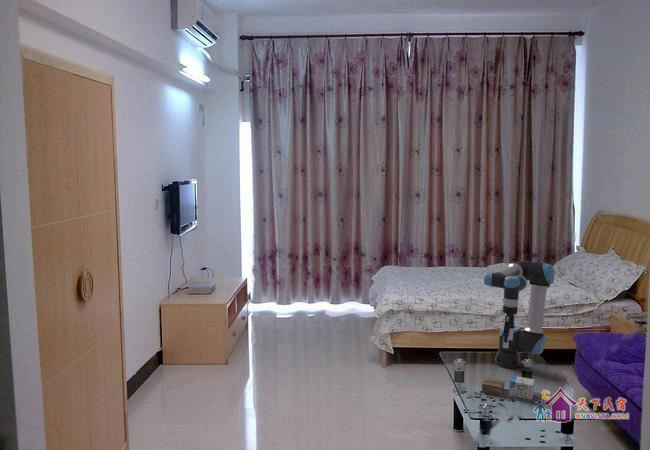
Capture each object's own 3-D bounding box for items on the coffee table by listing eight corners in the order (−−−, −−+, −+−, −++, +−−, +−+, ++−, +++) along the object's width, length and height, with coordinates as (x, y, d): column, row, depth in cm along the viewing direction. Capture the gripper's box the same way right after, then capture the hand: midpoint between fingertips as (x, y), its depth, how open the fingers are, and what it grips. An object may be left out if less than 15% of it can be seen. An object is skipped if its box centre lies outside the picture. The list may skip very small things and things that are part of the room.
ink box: (510, 380, 309) (533, 385, 304) (512, 375, 317) (534, 379, 312) (509, 396, 310) (532, 400, 305) (511, 389, 318) (533, 394, 313)
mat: (509, 387, 322) (509, 386, 322) (541, 394, 314) (541, 393, 314) (504, 397, 310) (504, 396, 310) (537, 404, 302) (537, 403, 302)
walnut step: (485, 385, 324) (486, 377, 323) (504, 389, 319) (504, 380, 319) (481, 392, 315) (482, 383, 314) (500, 396, 311) (501, 387, 310)
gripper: (507, 298, 320) (504, 335, 323) (498, 310, 298) (496, 349, 301) (521, 300, 316) (518, 337, 320) (513, 312, 294) (510, 352, 298)
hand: (507, 343), depth 310 cm, fingers open, 13 cm apart
